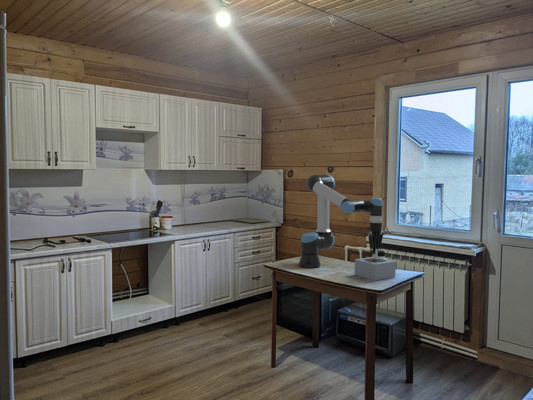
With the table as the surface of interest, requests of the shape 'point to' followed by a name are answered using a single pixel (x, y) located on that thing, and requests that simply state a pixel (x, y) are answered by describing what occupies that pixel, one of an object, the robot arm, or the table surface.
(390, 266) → the socket block
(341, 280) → the table surface
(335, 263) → the table surface
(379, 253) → the container
